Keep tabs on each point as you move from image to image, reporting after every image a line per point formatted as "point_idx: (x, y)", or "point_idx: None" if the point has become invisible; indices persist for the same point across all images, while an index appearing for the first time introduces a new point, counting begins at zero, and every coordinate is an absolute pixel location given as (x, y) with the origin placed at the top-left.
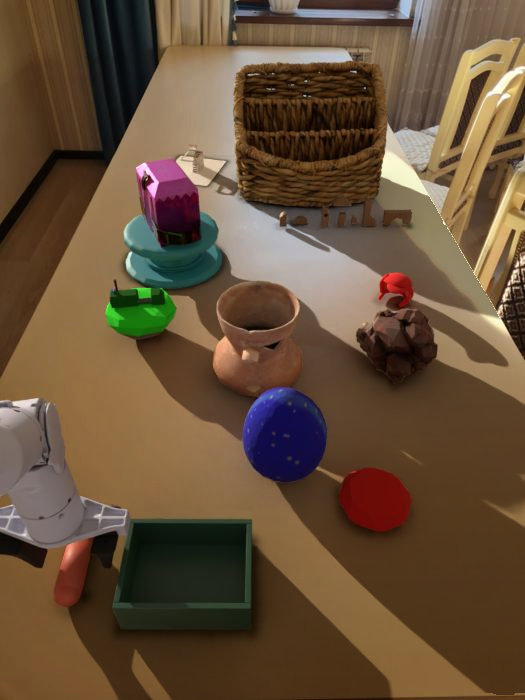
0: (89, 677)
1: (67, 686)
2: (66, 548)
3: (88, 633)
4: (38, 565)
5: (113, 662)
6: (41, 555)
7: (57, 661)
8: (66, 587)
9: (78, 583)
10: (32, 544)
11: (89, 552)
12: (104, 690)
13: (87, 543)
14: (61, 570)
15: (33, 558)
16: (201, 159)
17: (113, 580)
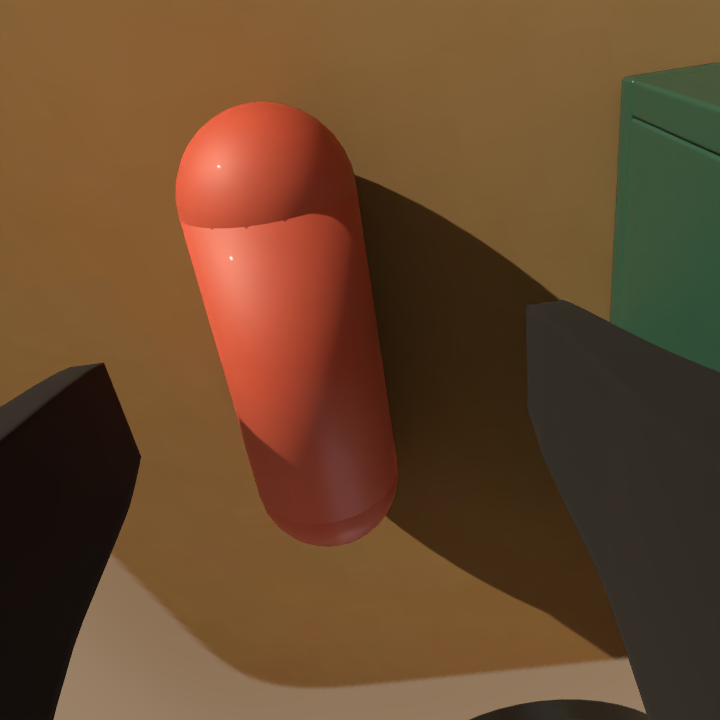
0: (512, 637)
1: (444, 662)
2: (213, 306)
3: (464, 535)
4: (124, 515)
5: (589, 596)
6: (100, 464)
7: (379, 616)
8: (339, 526)
9: (383, 469)
10: (13, 621)
11: (366, 276)
12: (573, 656)
13: (341, 246)
14: (259, 440)
15: (83, 594)
16: None
17: (518, 329)
